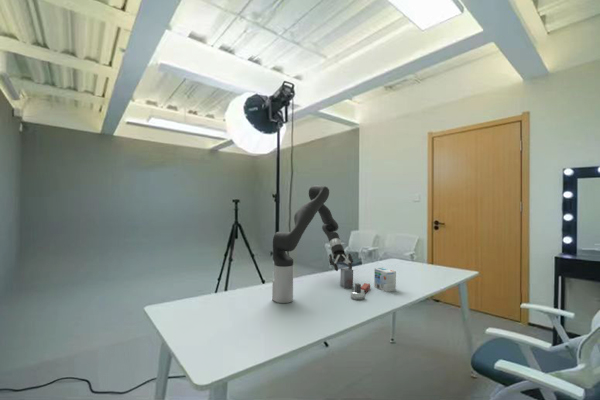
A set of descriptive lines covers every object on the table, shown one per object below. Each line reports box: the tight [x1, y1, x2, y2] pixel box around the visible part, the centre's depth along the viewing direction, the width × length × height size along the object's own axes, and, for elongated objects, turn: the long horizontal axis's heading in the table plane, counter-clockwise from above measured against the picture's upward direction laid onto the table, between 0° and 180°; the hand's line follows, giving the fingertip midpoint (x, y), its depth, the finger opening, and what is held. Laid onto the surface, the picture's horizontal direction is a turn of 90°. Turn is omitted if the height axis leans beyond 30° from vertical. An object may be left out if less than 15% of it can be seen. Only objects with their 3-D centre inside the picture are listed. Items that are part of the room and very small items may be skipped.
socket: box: [339, 267, 354, 289], centre depth 162 cm, size 5×5×10 cm
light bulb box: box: [373, 267, 397, 293], centre depth 159 cm, size 11×7×11 cm, turn 25°
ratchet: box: [350, 282, 371, 301], centre depth 150 cm, size 23×7×7 cm, turn 153°
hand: (344, 270), depth 166 cm, fingers open, 8 cm apart
